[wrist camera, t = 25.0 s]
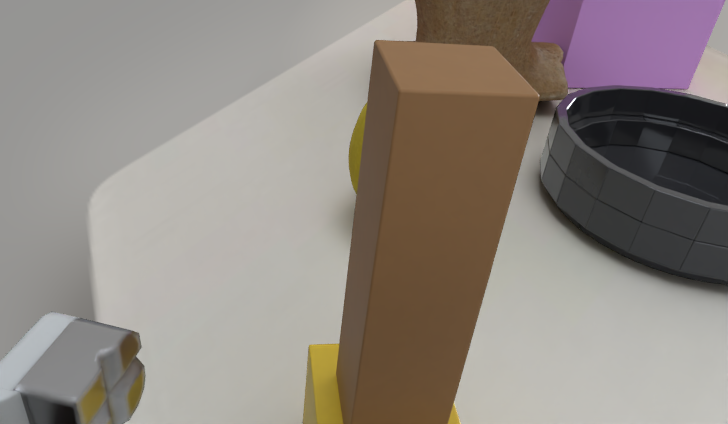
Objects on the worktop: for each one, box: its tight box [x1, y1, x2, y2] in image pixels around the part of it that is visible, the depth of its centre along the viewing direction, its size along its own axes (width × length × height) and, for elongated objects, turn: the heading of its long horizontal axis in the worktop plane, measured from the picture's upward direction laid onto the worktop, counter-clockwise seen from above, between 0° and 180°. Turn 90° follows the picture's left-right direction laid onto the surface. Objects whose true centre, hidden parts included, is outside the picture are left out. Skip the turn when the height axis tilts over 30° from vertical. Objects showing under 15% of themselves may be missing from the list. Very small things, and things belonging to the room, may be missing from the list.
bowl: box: [540, 85, 728, 284], centre depth 35 cm, size 15×15×4 cm
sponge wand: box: [303, 40, 539, 424], centre depth 16 cm, size 5×4×14 cm
